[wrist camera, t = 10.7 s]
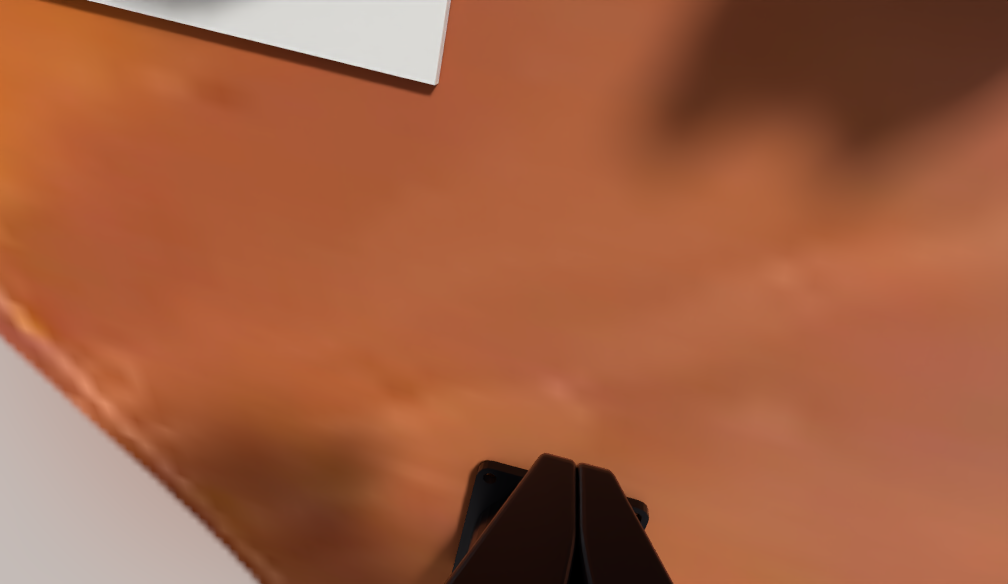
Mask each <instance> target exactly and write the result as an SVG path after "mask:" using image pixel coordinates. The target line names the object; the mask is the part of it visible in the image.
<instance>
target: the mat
mask: <svg viewBox="0 0 1008 584" xmlns="http://www.w3.org/2000/svg"><path fill="white" fill-rule="evenodd" d="M89 1H93V2H97V3H101V4H105V5H109V6H113V7H117V8H122V9H126V10H130V11H134V12H138V13H142V14H146V15H150V16H154V17H158V18H162V19H166V20H170V21H175V22H179V23H183V24H187V25H191V26H195V27H199V28H203V29H207V30H211V31H215V32H219V33H223V34H228V35H232V36H236V37H240V38H244V39H248V40H252V41H256V42H260V43H264V44H268V45H272V46H276V47H281V48H285V49H289V50H293V51H297V52H301V53H305V54H309V55H313V56H317V57H321V58H325V59H329V60H334V61H338V62H342V63H346V64H350V65H354V66H358V67H362V68H366V69H370V70H374V71H378V72H382V73H387V74H391V75H395V76H399V77H403V78H407V79H411V80H415V81H419V82H423V83H427V84H431V85H436V84H438V82H439V75H440V69H441V62H442V55H443V49H444V42H445V35H446V29H447V22H448V16H449V9H450V2H451V0H89Z"/></svg>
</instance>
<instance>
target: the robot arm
mask: <svg viewBox="0 0 1008 584" xmlns="http://www.w3.org/2000/svg"><path fill="white" fill-rule="evenodd" d="M487 473H491V474H493V475H495V476H489V475H487ZM635 513H638V514H637V515H636V514H635ZM648 520H649V514H648V508H647V506H646V505H645V504H644V503H643V502H641V501H639V500H635V499H632V498H628V497H626V496H625V494H624V492H623V490H622V488H621V486H620V485H619V483H618V481H617V479H616V477H615V476H614V474H613V473H612V472H611V471H610V470H608V469H604V468H601V467H597V466H593V465H589V464H586V463H579V464H578V465H575V463H574V461H573V460H571V459H567V458H563V457H560V456H556V455H552V454H549V453H544V454H542V455H540V456H539V457H538V459H537V460H536V461H535V463H534V464H533V465H532V467H531V468H530V469H529V471H528V470H525V469H521V468H517V467H514V466H510V465H506V464H502V463H499V462H495V461H485V462H483V463H481V464H480V466H479V468H478V472H477V476H476V480H475V484H474V487H473V491H472V495H471V499H470V503H469V507H468V511H467V515H466V519H465V523H464V527H463V531H462V535H461V539H460V543H459V547H458V551H457V555H456V559H455V563H454V567H453V571H452V574H451V575H450V577H449V578H448V579H447V581H446V582H445V583H444V584H673V582H672V580H671V578H670V577H669V575H668V573H667V571H666V569H665V567H664V566H663V564H662V562H661V560H660V558H659V556H658V554H657V553H656V551H655V549H654V547H653V545H652V543H651V542H650V540H649V538H648V536H647V534H646V532H645V531H644V530H645V528H646V525H647V523H648Z"/></svg>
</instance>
